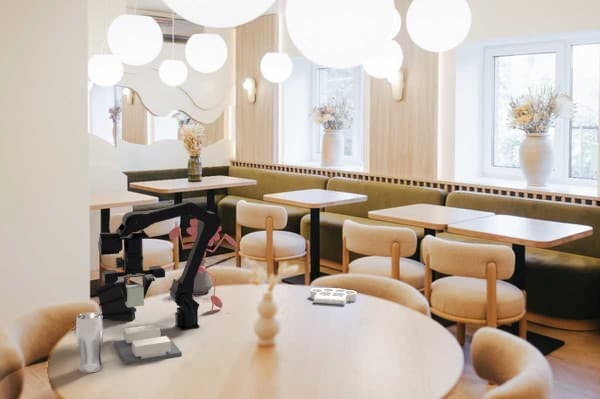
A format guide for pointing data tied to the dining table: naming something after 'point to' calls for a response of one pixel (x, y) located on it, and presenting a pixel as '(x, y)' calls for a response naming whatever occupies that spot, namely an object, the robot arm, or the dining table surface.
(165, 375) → the dining table surface
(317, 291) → the white holed tray
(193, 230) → the figurine
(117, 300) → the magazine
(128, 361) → the rail panel
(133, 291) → the block
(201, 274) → the coffee pot
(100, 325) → the beer glass
